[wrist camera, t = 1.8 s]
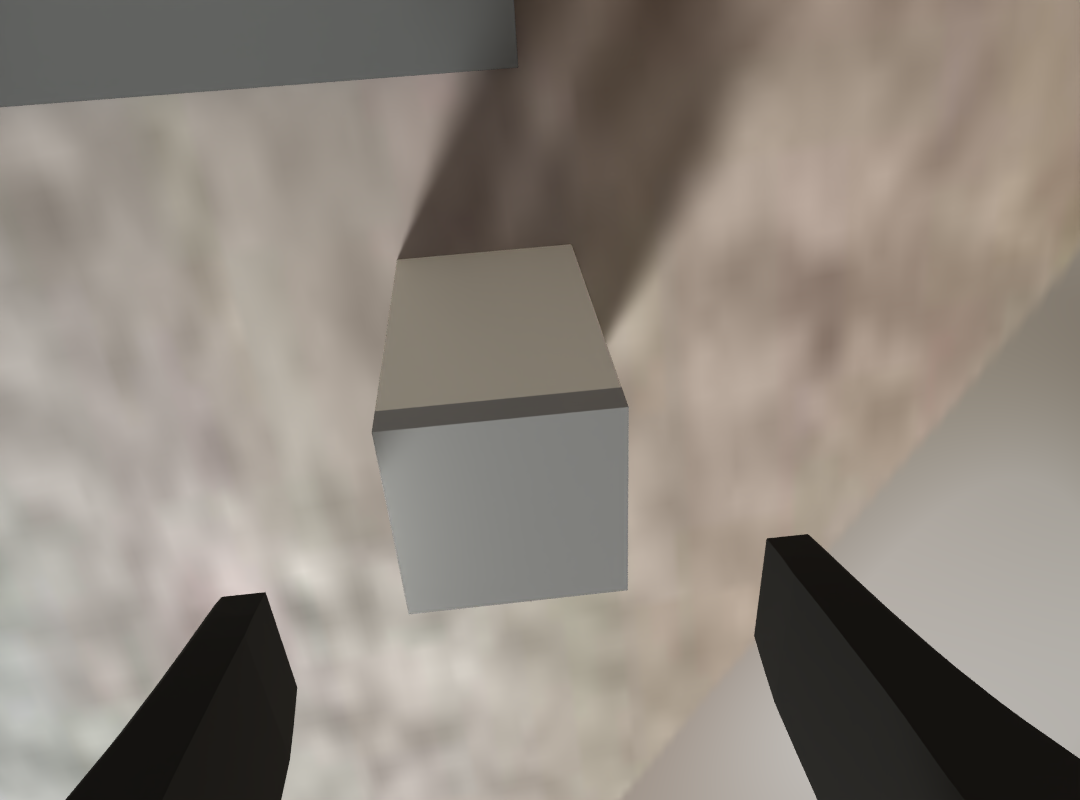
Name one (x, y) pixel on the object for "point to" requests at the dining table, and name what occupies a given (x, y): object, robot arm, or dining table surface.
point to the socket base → (238, 44)
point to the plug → (501, 432)
